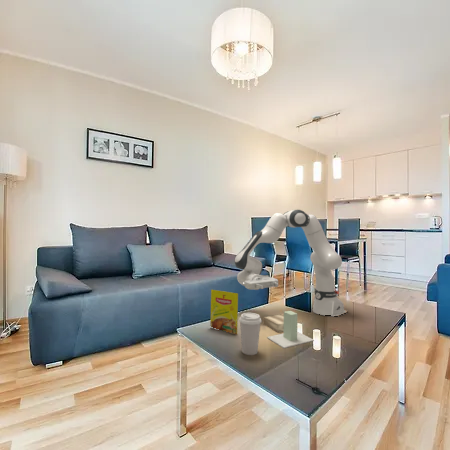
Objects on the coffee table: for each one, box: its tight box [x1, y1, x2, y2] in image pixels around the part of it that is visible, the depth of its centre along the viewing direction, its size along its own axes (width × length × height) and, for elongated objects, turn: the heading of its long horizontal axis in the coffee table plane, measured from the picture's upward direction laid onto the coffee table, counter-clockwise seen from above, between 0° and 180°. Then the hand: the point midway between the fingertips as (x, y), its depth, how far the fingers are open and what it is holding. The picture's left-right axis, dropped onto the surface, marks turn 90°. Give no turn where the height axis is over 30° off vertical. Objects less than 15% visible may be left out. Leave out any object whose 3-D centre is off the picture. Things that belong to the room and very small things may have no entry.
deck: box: [263, 313, 284, 333], centre depth 139 cm, size 12×12×4 cm
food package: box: [209, 289, 239, 335], centre depth 131 cm, size 15×1×20 cm, turn 62°
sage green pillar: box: [282, 310, 299, 341], centre depth 123 cm, size 4×5×12 cm
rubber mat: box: [266, 331, 315, 349], centre depth 123 cm, size 18×12×1 cm, turn 118°
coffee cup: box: [238, 312, 263, 356], centre depth 110 cm, size 10×10×15 cm
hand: (270, 286), depth 140 cm, fingers open, 8 cm apart
